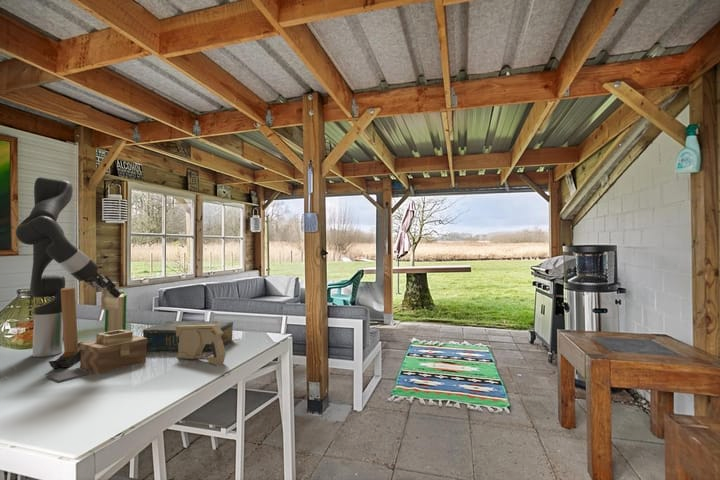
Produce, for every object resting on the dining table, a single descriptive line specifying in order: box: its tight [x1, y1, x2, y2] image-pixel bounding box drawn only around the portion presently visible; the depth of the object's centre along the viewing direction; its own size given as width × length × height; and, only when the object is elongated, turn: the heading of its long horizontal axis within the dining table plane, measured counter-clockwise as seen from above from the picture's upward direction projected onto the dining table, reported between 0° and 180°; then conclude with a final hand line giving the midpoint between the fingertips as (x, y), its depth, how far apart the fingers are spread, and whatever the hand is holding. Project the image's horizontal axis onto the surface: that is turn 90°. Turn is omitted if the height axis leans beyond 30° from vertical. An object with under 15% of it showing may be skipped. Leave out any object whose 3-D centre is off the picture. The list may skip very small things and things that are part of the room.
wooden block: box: [100, 281, 120, 311], centre depth 130 cm, size 4×4×10 cm
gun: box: [176, 325, 226, 366], centre depth 135 cm, size 24×3×15 cm, turn 65°
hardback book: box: [104, 291, 128, 332], centre depth 156 cm, size 18×7×24 cm, turn 35°
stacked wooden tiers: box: [79, 329, 148, 375], centre depth 130 cm, size 15×17×12 cm
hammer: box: [48, 286, 84, 369], centre depth 131 cm, size 20×5×30 cm, turn 18°
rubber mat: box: [45, 367, 92, 383], centre depth 118 cm, size 10×9×1 cm
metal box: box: [142, 320, 234, 353], centre depth 157 cm, size 21×32×10 cm, turn 89°
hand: (115, 295), depth 131 cm, fingers closed on wooden block, 4 cm apart
